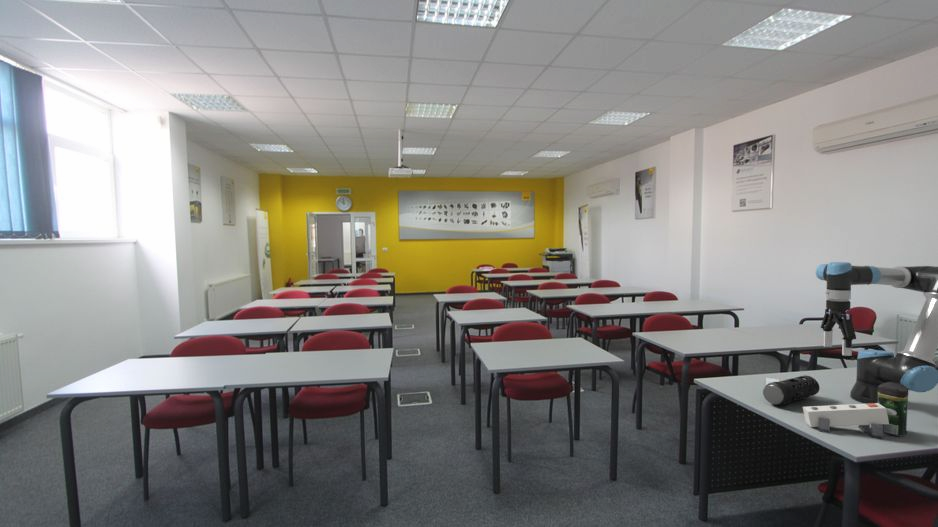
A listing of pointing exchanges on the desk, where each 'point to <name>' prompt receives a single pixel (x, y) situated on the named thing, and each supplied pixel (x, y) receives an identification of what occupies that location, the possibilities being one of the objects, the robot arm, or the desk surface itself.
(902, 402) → the coffee jar
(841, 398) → the desk surface
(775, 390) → the muzzle brake
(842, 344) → the robot arm
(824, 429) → the bracket far
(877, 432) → the bracket near
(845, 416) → the socket bar
